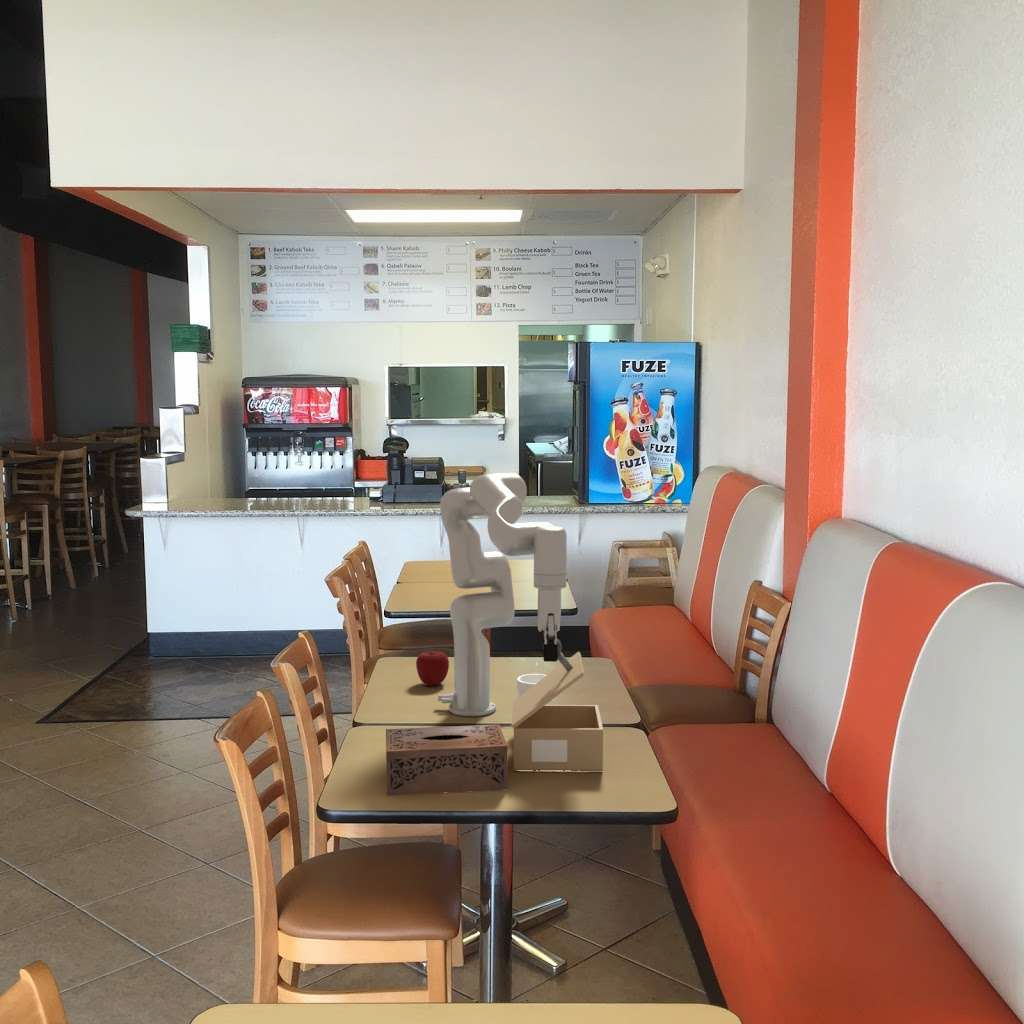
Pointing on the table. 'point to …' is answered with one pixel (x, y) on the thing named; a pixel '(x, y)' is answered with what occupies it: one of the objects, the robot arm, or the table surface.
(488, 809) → the table surface
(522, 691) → the foam cup
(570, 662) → the carton lid
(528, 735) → the carton
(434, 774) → the tissue box cover
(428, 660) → the apple
